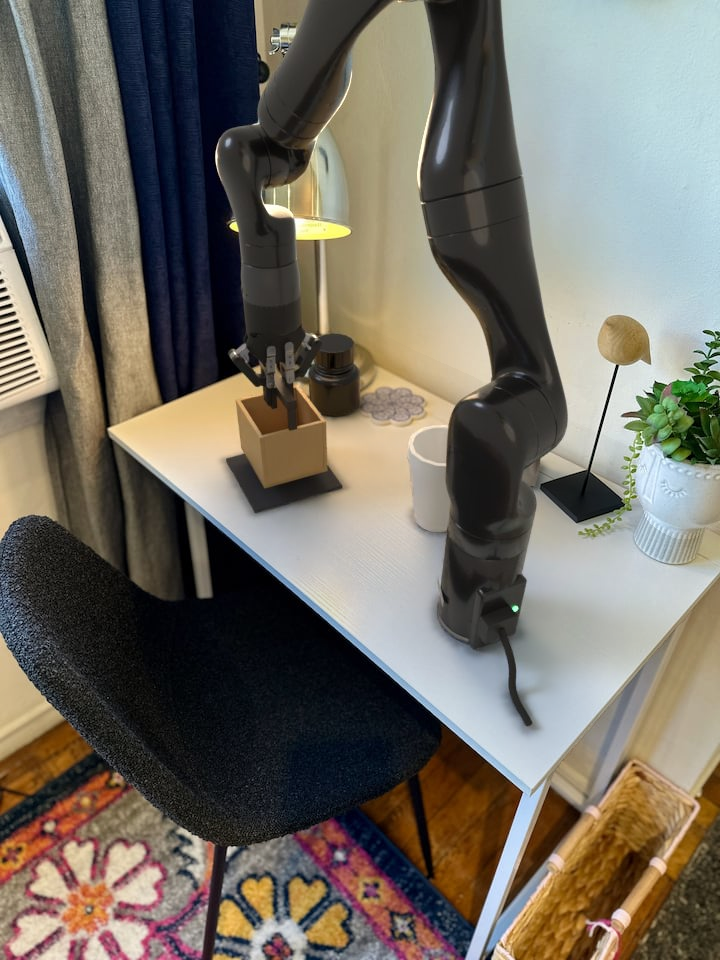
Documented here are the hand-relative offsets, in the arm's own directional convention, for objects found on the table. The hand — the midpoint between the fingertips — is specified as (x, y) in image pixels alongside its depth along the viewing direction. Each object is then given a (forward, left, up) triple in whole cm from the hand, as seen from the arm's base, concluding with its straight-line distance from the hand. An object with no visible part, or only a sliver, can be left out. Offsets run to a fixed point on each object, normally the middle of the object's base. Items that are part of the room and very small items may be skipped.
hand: (279, 404), depth 104 cm
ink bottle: (+15, -15, -13) cm, 25 cm away
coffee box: (-14, -32, -13) cm, 37 cm away
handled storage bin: (0, 0, -10) cm, 10 cm away
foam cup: (-19, -16, -13) cm, 28 cm away
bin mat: (0, 0, -13) cm, 13 cm away
